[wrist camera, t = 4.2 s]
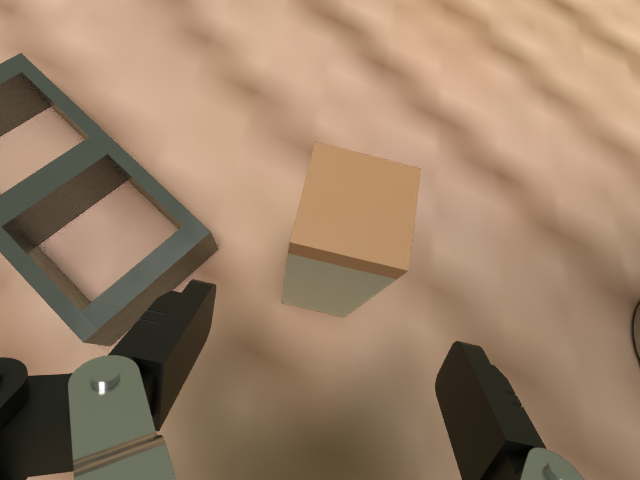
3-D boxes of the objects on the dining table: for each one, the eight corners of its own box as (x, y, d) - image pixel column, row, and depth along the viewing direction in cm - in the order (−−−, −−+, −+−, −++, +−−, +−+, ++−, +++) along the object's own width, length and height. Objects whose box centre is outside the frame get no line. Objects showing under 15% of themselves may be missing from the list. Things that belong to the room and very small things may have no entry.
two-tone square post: (296, 243, 23) (315, 141, 13) (355, 257, 24) (421, 168, 13) (281, 302, 22) (289, 241, 11) (344, 317, 22) (408, 270, 12)
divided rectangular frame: (49, 88, 25) (21, 53, 22) (218, 248, 23) (210, 231, 20) (-68, 156, 22) (-117, 125, 19) (109, 346, 20) (83, 342, 17)
